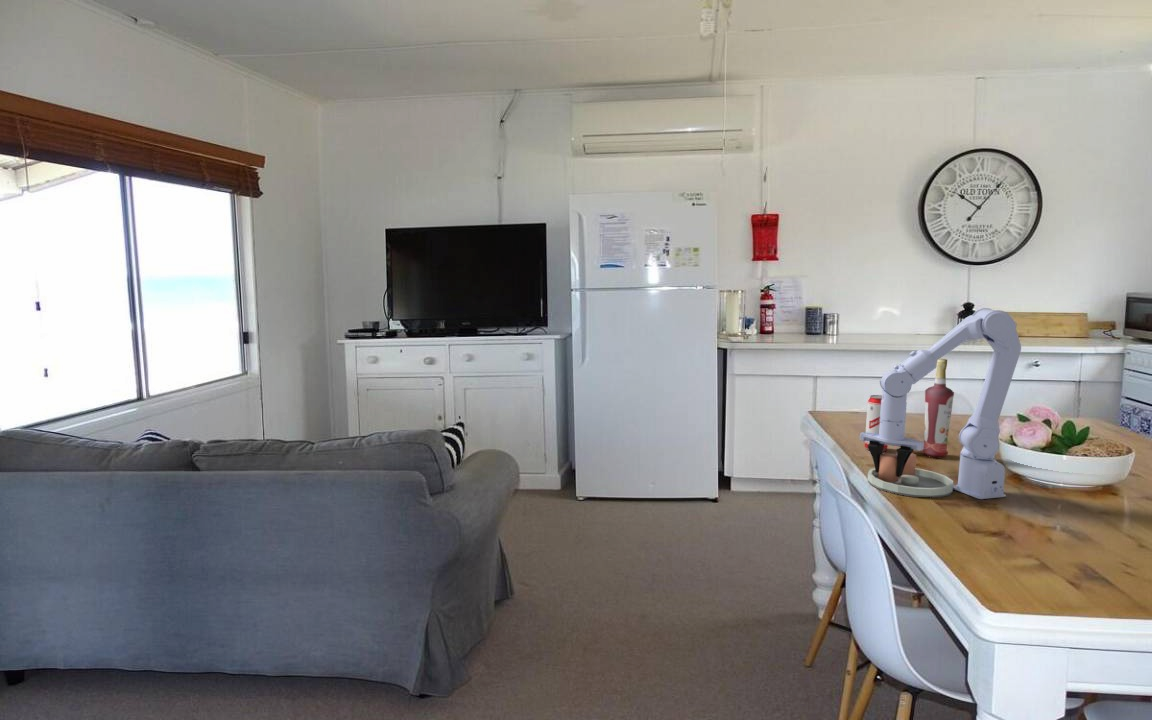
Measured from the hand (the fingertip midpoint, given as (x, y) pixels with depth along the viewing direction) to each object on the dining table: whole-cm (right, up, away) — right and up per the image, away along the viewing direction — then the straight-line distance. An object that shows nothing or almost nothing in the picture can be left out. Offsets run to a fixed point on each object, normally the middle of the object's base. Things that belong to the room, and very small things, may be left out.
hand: (888, 473), depth 178 cm
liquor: (+26, 0, +29) cm, 39 cm away
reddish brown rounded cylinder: (0, -1, 0) cm, 1 cm away
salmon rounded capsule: (+7, -2, +6) cm, 9 cm away
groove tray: (+5, -3, 0) cm, 6 cm away
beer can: (+12, +1, +35) cm, 37 cm away
